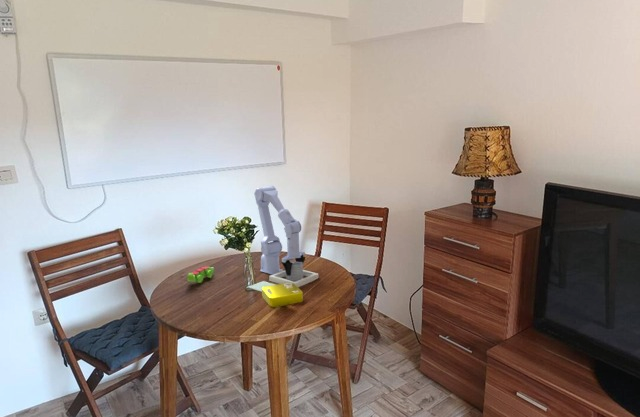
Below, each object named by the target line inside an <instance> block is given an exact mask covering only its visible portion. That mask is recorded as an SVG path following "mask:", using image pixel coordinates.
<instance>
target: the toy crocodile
mask: <svg viewBox="0 0 640 417" xmlns="http://www.w3.org/2000/svg"><path fill="white" fill-rule="evenodd" d="M214 271H215V267H213V266H212V267H210V266H202V267H200V268H197V269H195V270H194V271H192V272H188V274H187V276H186V281H187V282H189V283H190V282H195V283H196V282H197V283H199V284H202V282H203V281H204V278H205V277H207V278H210V279H211V278H212V277H213V275H214Z"/></svg>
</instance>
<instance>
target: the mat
mask: <svg viewBox="0 0 640 417" xmlns="http://www.w3.org/2000/svg"><path fill="white" fill-rule="evenodd" d="M272 285H276V283H273V282H270V281H268V282H267V281H266V280H262V281H260V282H257V283H254V284H252V285H250V286H247V288H248V289H250V290H255V291H256V292H257V291H258V292H259V293H262V288H263V287H265V286H272Z"/></svg>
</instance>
